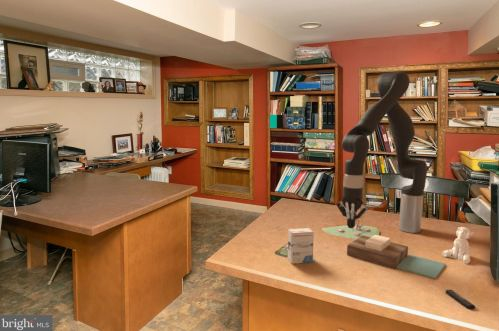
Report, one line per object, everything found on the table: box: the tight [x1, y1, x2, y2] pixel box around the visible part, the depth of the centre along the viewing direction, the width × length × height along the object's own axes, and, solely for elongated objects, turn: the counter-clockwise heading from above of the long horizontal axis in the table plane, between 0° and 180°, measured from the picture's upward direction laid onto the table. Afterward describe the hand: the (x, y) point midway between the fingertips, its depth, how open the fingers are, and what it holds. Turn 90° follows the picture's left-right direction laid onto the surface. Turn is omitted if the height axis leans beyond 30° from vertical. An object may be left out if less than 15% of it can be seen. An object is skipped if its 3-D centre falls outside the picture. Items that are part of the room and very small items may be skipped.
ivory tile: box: [365, 234, 391, 251], centre depth 131 cm, size 9×6×2 cm, turn 138°
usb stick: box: [445, 289, 476, 310], centre depth 101 cm, size 10×3×2 cm, turn 9°
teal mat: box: [395, 254, 446, 280], centre depth 123 cm, size 14×13×1 cm
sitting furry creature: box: [441, 226, 475, 265], centre depth 130 cm, size 10×9×12 cm
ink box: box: [287, 227, 315, 265], centre depth 128 cm, size 8×5×12 cm, turn 100°
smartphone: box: [274, 243, 288, 259], centre depth 138 cm, size 7×1×15 cm
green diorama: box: [321, 216, 380, 240], centre depth 158 cm, size 25×21×9 cm
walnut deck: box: [346, 235, 409, 269], centre depth 132 cm, size 14×18×4 cm
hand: (350, 227), depth 138 cm, fingers closed
